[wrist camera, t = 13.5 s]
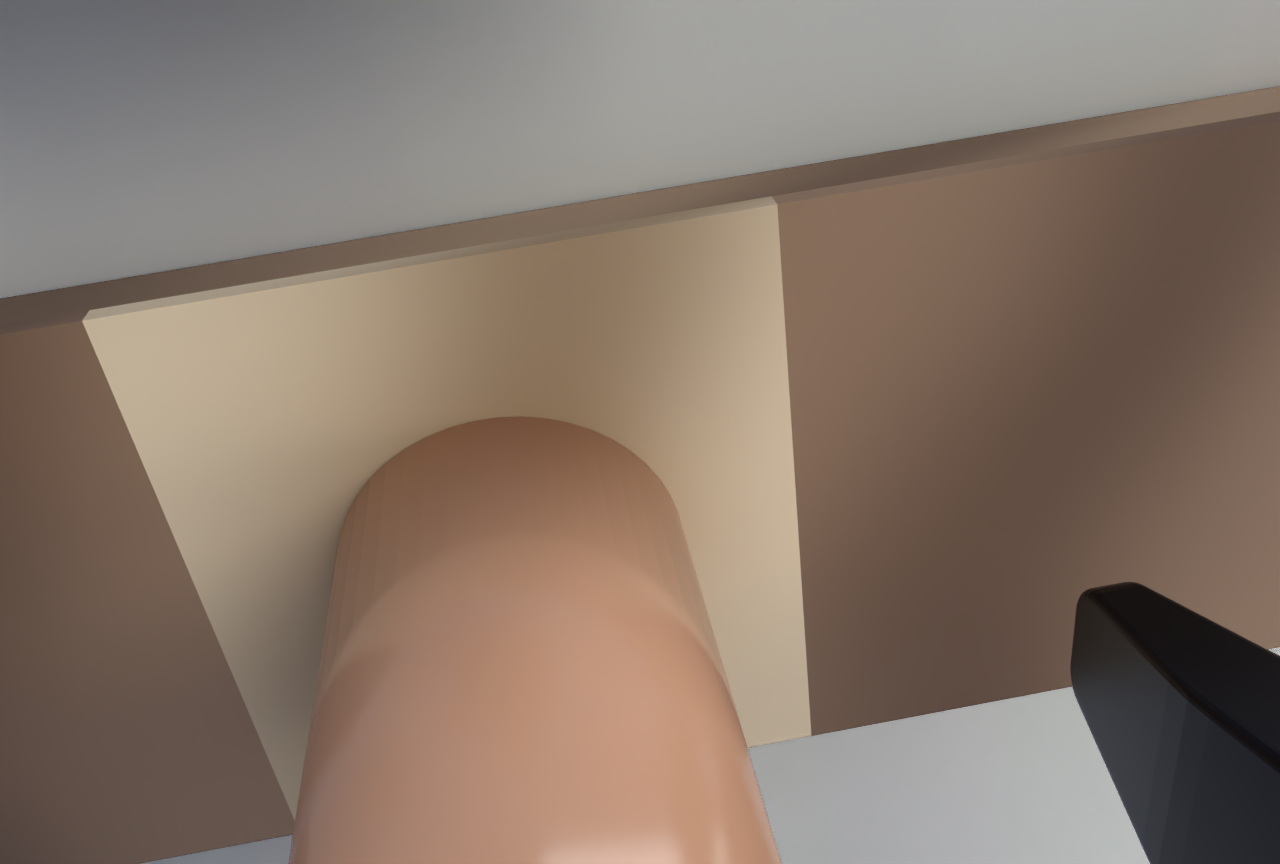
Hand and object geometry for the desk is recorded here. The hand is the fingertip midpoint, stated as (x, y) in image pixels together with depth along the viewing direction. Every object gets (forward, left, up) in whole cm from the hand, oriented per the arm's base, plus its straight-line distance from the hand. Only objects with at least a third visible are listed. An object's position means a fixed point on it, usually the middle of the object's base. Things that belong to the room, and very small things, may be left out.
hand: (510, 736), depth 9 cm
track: (-3, 0, -3) cm, 4 cm away
